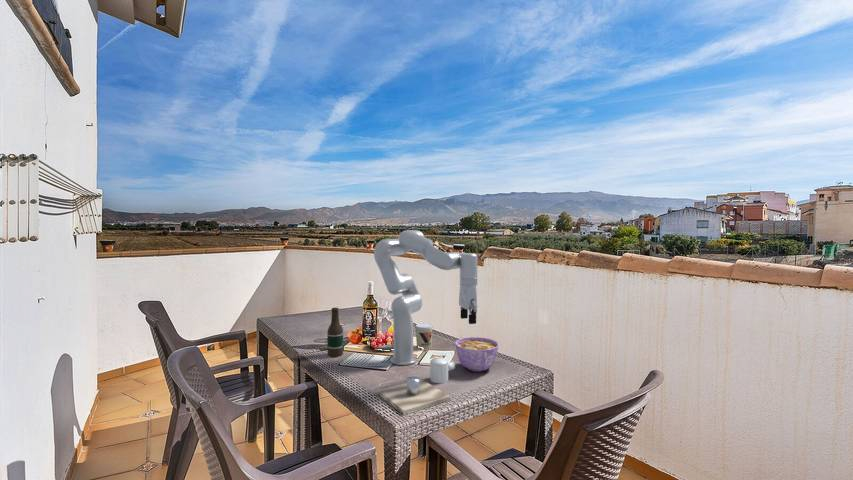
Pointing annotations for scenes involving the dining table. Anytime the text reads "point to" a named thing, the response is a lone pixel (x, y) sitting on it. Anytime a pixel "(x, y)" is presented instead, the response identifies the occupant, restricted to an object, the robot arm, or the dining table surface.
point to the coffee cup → (424, 335)
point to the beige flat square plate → (413, 395)
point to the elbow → (440, 370)
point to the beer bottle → (335, 335)
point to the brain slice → (384, 347)
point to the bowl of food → (477, 352)
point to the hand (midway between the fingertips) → (468, 320)
